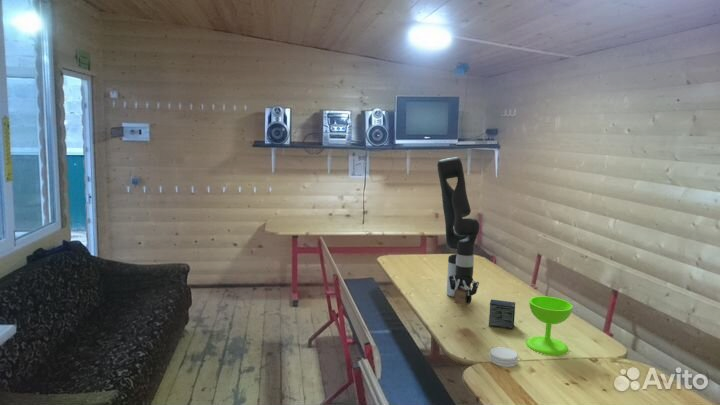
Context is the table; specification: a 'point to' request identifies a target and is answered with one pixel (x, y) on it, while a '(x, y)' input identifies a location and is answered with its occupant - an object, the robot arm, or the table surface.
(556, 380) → the table surface
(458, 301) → the walnut block
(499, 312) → the small box
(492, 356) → the white short cylinder
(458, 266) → the robot arm
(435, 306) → the table surface
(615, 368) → the table surface
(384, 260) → the table surface
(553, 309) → the wineglass
